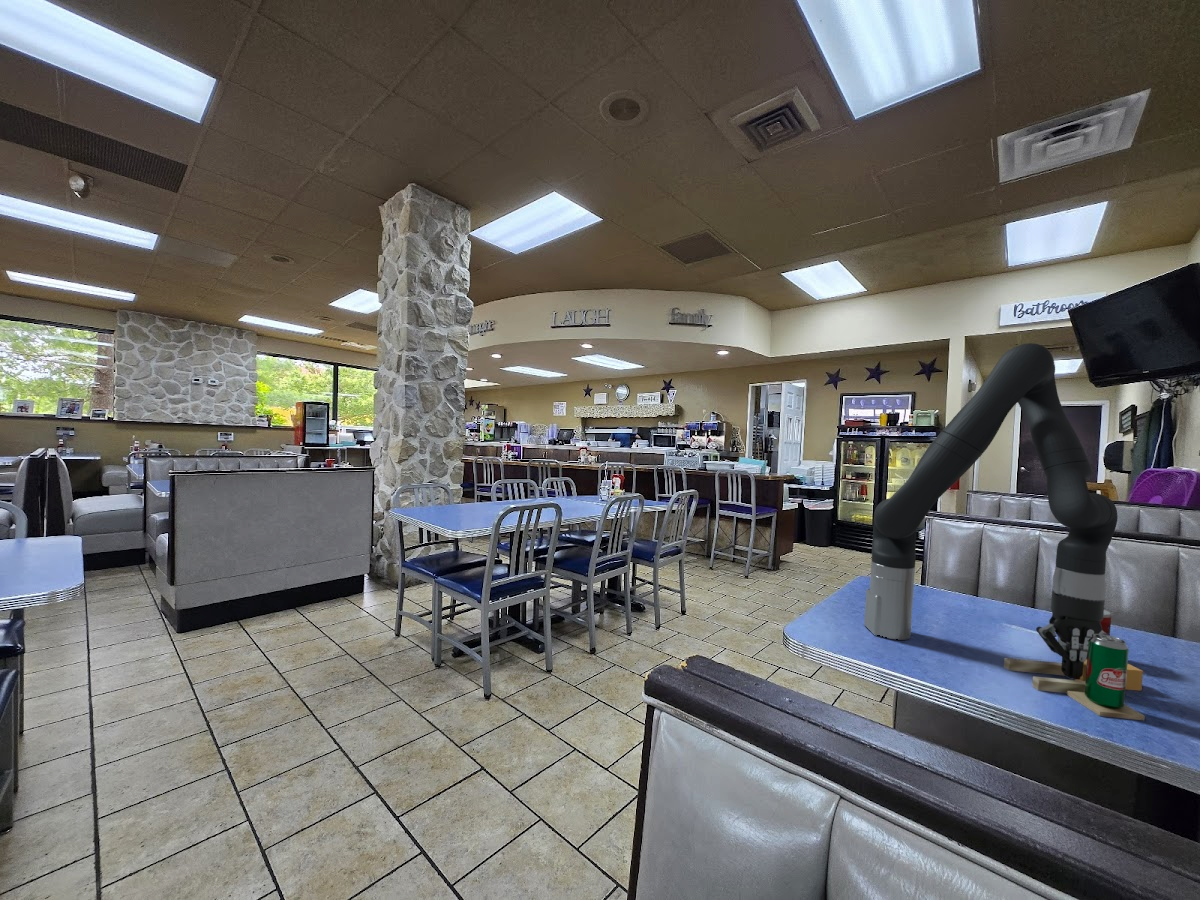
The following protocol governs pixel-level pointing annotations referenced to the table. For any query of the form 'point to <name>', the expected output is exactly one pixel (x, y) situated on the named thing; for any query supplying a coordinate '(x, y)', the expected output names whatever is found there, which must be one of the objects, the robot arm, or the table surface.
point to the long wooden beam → (1131, 680)
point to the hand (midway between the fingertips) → (1071, 677)
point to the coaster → (1105, 708)
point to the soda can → (1106, 671)
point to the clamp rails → (1045, 668)
